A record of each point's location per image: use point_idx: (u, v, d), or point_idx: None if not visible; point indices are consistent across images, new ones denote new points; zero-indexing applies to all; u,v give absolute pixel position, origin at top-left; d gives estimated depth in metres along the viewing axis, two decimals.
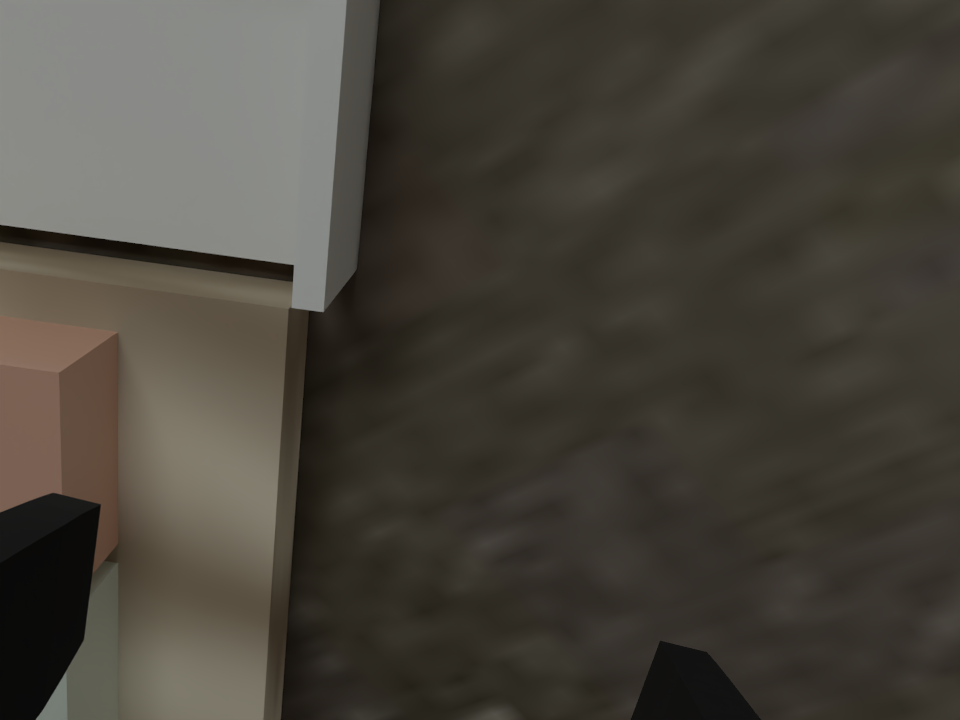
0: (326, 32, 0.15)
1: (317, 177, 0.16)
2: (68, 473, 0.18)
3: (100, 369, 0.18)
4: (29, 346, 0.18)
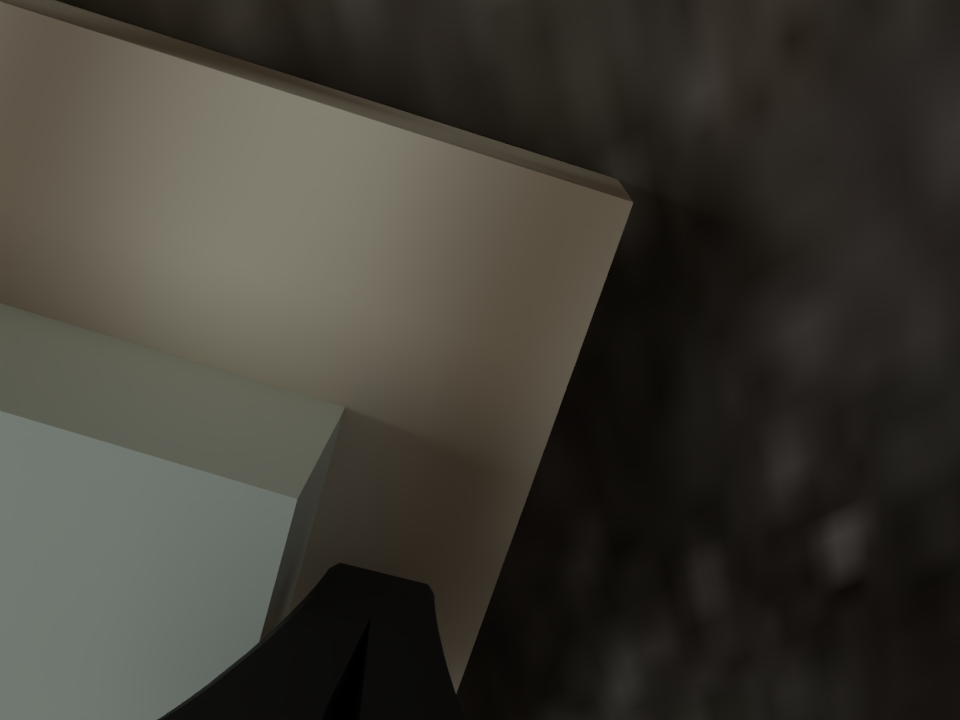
0: None
1: None
2: None
3: None
4: None
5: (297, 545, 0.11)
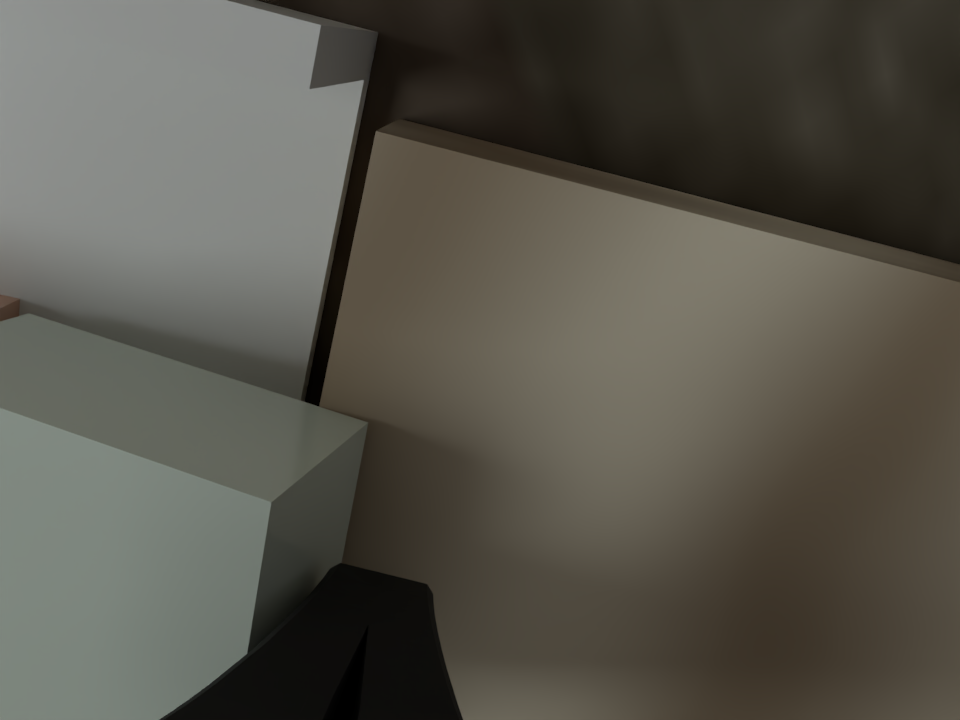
0: None
1: None
2: None
3: None
4: None
5: (307, 558, 0.11)
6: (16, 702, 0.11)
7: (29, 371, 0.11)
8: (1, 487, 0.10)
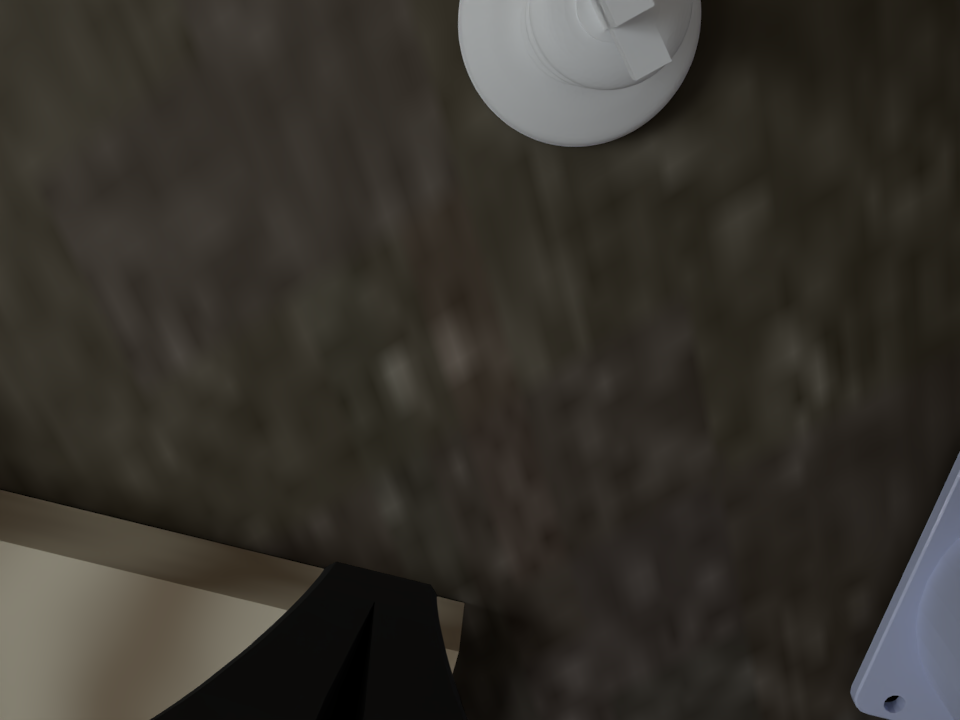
0: None
1: None
2: None
3: None
4: None
5: None
6: None
7: None
8: None
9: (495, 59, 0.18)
